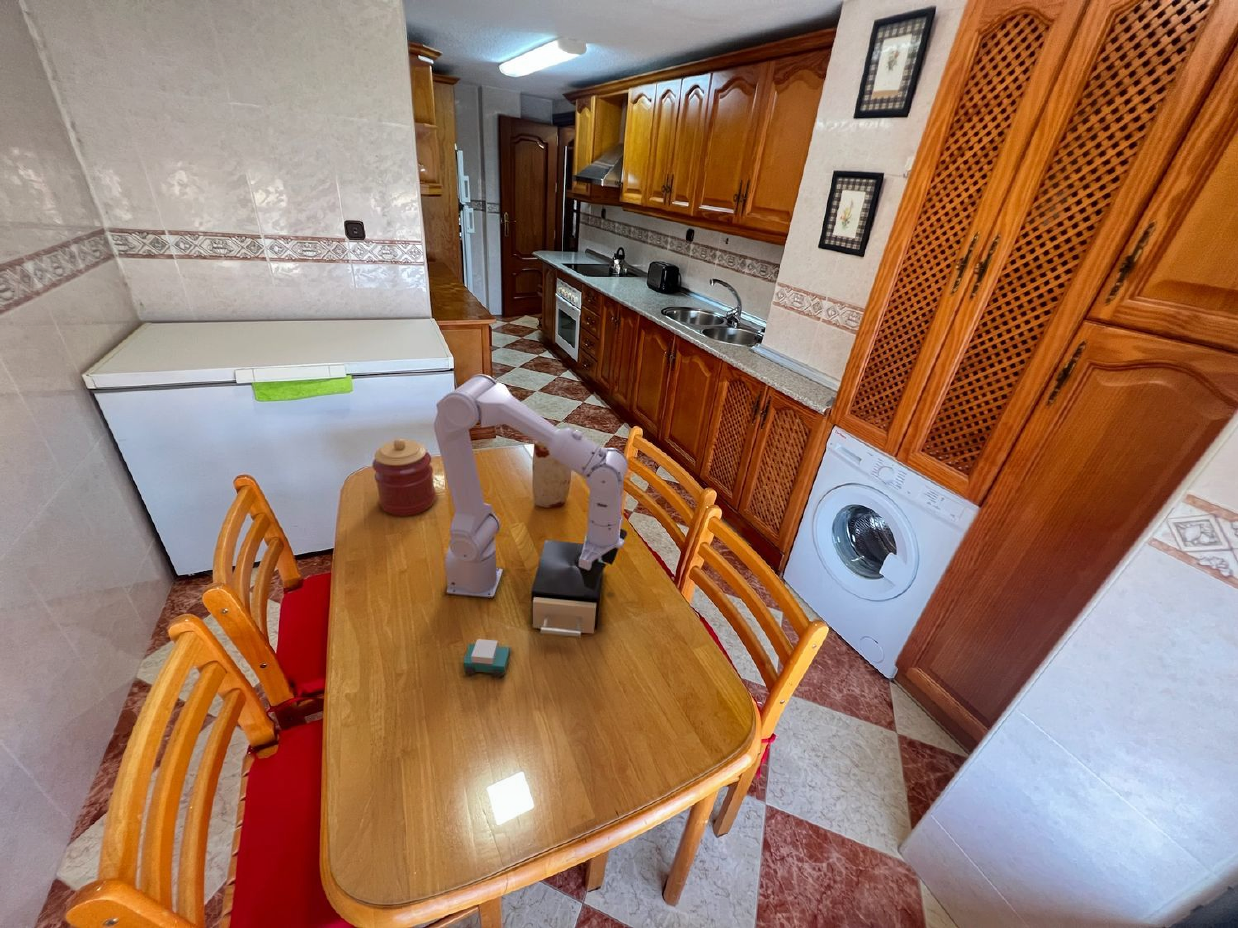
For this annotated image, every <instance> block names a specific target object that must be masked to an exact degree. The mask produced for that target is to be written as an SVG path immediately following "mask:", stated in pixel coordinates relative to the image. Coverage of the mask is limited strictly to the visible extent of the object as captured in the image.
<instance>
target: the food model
mask: <svg viewBox="0 0 1238 928" xmlns="http://www.w3.org/2000/svg"><path fill="white" fill-rule="evenodd" d="M532 452H533V453H532V471H531V472H532V480H531V481H532V484H531V485H532V502H533V504H534V505H536V506H537V507H541V508H559V507H561V506H563V505H565V504H566V502H567V500H568V497H569V493H570V488H571V482H572V481H571V480H572V473H573V470H571V469H569V468H568V467H566V466H565V465H563V464H561V463H560V462H558V461H557V460H555V459H553V458H552V457H551V456H550V453H549V449H548V447H547V446H545V445H544V444H542V443H540V442H538V441H536V440H534V443H533V451H532Z"/></svg>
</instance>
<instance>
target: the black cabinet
mask: <svg viewBox="0 0 1238 928" xmlns="http://www.w3.org/2000/svg"><path fill="white" fill-rule="evenodd" d="M583 546H584V543H582V542H571V541H561V540H550V539H545V540H544V544H543V547H542V550H541V555H540V558H539V562H538V565H537V569H536V573H535V576H534V580H533V583H532V588H531V592H530V593H531V596H530V597H531V602H530V603H531V606H530V607H531V609H530V610H531V624H532V625H533V599H534V597H539V595H548V596H558V597H568V598H578V599H589V600H594V603H596V613H595V625H594V631H597V630H598V627H599V617H600V610H601V600H602V599H601V598H602V590H603V589H602V588H603V581H604V570H605V568H604V569H603V571H602V572H601V574H600V577H599V581H598V585H597V587H596V588H595V590H592V589H590V588H587V587H585V585H584V582H583V578H582V575H581V573H580V571H579V569H578V568H577V566H576V565H575V564H574V557H575V556H576V555H577V554H578V552H580V553H582V551H583ZM597 559H598V561H599V562H602V563H604V564H605V562H603V561H602V558H601V556H600V557H598V558H597Z"/></svg>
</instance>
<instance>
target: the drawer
mask: <svg viewBox="0 0 1238 928" xmlns="http://www.w3.org/2000/svg"><path fill="white" fill-rule="evenodd" d="M595 613H596V603H594V600H589V599H578V598H568V597H558V596H548V595H539V597H534V599H533V624H532V628H534V629H540V635H542V636H543V635H544V636H554V637H563V638H574V639H581V636H582V635H581V634H582V633H584V634H595V630H594V625H595Z"/></svg>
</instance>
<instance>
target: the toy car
mask: <svg viewBox="0 0 1238 928" xmlns="http://www.w3.org/2000/svg"><path fill="white" fill-rule="evenodd" d="M464 656H465V657H464V659H463V661H462V666H463V671H465V674H466V675H468V676H474V675H475V674H476V673H487V674H492V676H493V677H494V678H496V679H500V678H502V677H503V675H506V672H507V669H508V664H509V661H510V657H511V647H510V646H500V645H499V641H498V640H491V639H481V638H477V639H476V642H475V643H469V646H468V648H467V651H466V653H465V655H464Z"/></svg>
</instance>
